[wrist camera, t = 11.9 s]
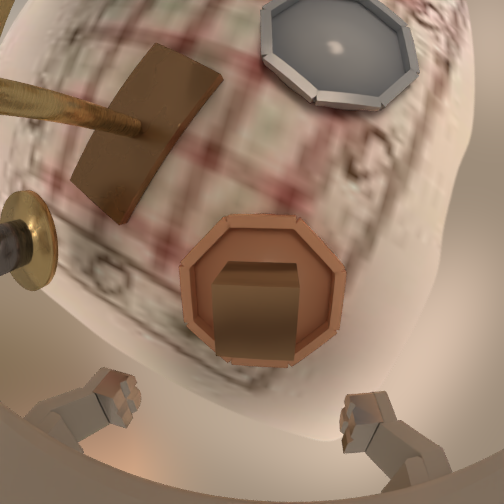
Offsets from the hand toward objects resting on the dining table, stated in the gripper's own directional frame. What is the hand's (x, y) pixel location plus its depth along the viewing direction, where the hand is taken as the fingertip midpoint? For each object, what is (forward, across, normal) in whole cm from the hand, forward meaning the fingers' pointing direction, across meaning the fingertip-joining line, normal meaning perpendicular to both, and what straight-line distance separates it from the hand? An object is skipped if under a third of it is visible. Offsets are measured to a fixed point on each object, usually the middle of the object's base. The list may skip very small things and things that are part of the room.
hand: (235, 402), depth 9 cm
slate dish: (+13, -6, -19) cm, 24 cm away
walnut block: (+12, 0, +1) cm, 12 cm away
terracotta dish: (+13, 0, +1) cm, 13 cm away
